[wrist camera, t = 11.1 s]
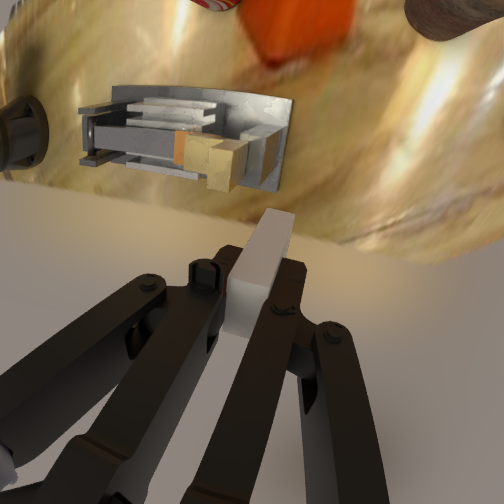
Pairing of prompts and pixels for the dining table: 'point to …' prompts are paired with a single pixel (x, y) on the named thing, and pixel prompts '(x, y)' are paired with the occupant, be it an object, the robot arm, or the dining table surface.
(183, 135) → the grey flat bar
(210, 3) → the beverage can
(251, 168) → the heatsink
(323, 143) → the dining table surface
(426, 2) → the candle
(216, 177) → the beige wooden l-shaped block
